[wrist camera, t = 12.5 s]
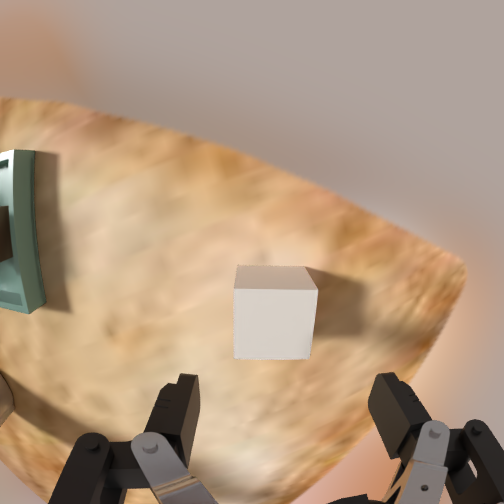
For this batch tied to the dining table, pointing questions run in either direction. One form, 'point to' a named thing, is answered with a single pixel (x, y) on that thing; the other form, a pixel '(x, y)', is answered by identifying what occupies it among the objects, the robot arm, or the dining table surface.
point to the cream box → (273, 312)
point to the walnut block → (5, 234)
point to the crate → (20, 234)
